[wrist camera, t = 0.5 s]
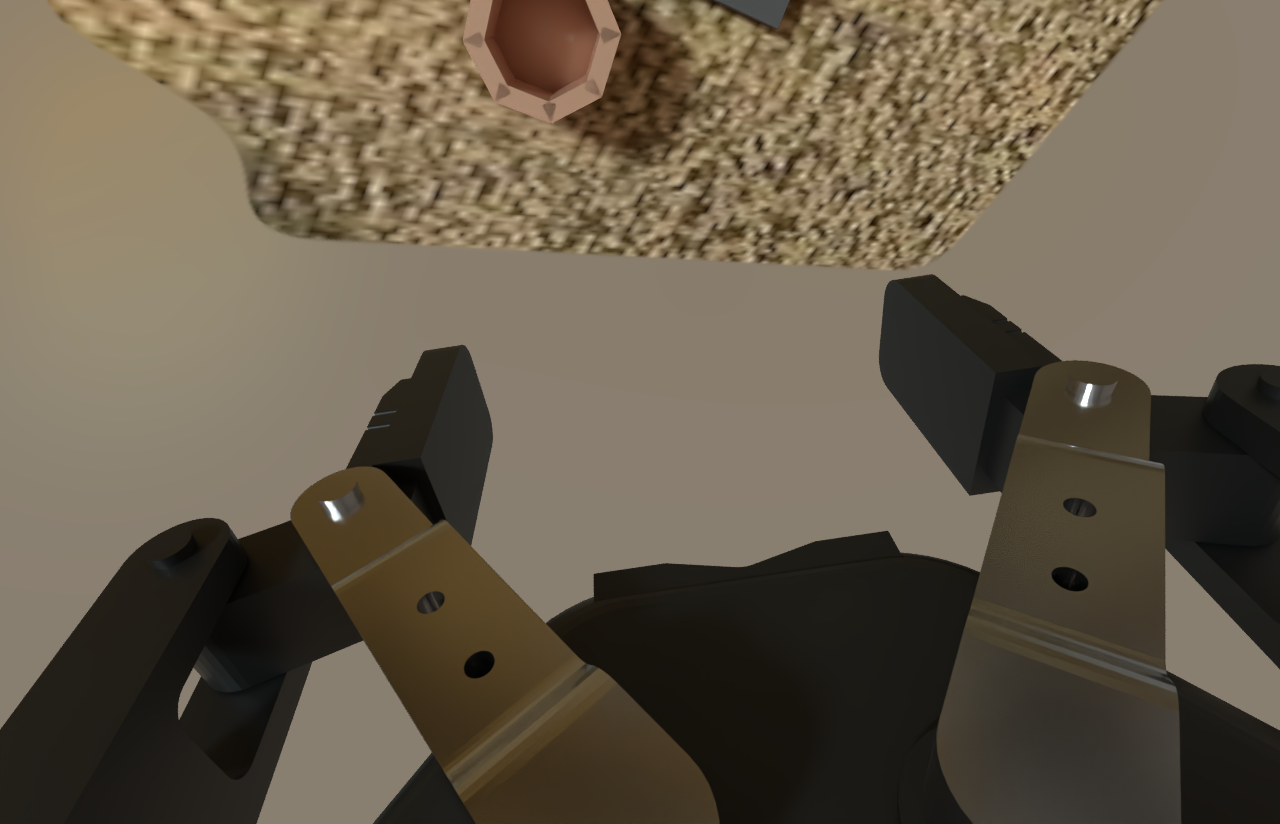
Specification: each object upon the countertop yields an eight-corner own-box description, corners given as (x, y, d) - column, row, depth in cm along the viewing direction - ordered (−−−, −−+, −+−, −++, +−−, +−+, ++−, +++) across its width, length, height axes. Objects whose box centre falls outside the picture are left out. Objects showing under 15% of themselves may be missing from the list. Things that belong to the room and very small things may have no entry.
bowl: (499, -69, 28) (486, -82, 24) (628, -11, 29) (636, -14, 25) (469, 77, 30) (453, 86, 27) (588, 123, 32) (589, 138, 28)
